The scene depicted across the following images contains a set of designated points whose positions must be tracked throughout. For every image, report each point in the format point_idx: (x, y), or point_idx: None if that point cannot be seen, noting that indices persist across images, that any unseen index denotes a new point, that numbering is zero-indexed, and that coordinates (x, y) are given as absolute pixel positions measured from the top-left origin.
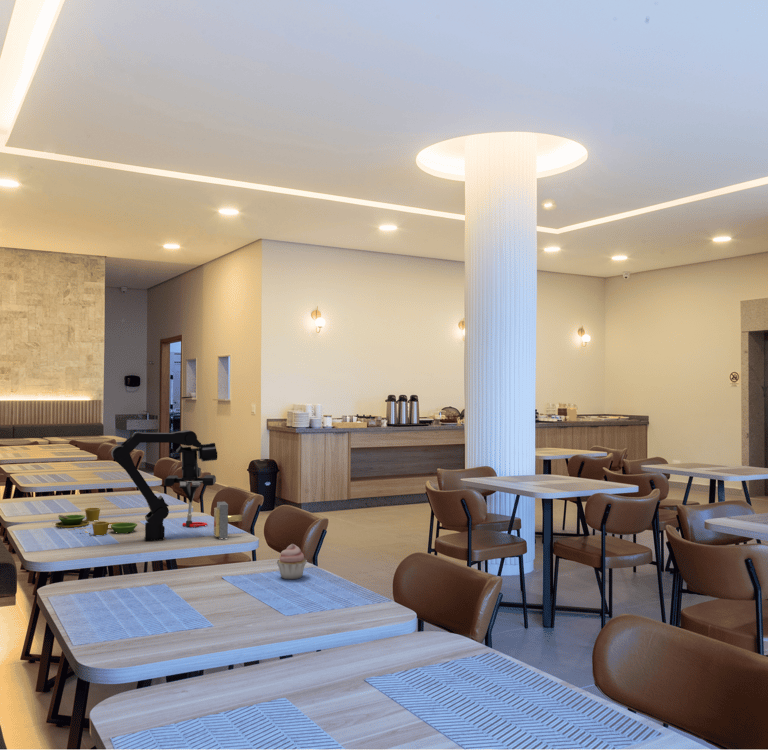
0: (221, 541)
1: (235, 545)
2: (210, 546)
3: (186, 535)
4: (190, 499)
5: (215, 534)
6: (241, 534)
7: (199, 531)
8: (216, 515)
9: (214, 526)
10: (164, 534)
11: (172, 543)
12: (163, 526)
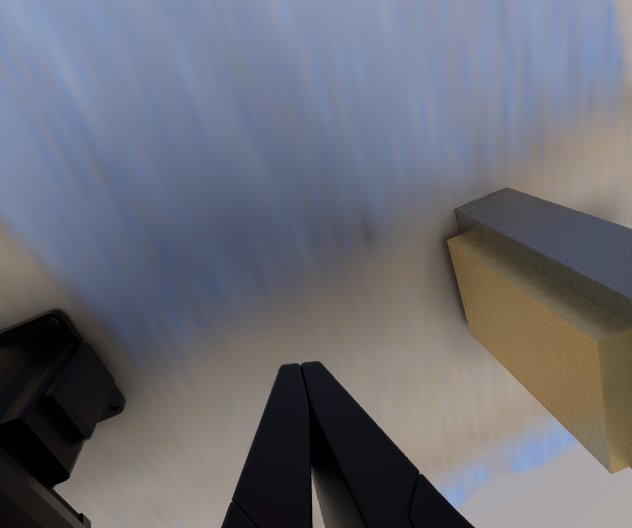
0: (497, 373)
1: (567, 445)
2: (451, 483)
3: (227, 216)
4: (311, 460)
5: (470, 318)
6: (618, 151)
7: (285, 24)
8: (572, 431)
9: (483, 289)
10: (108, 392)
11: (226, 460)
12: (78, 435)
